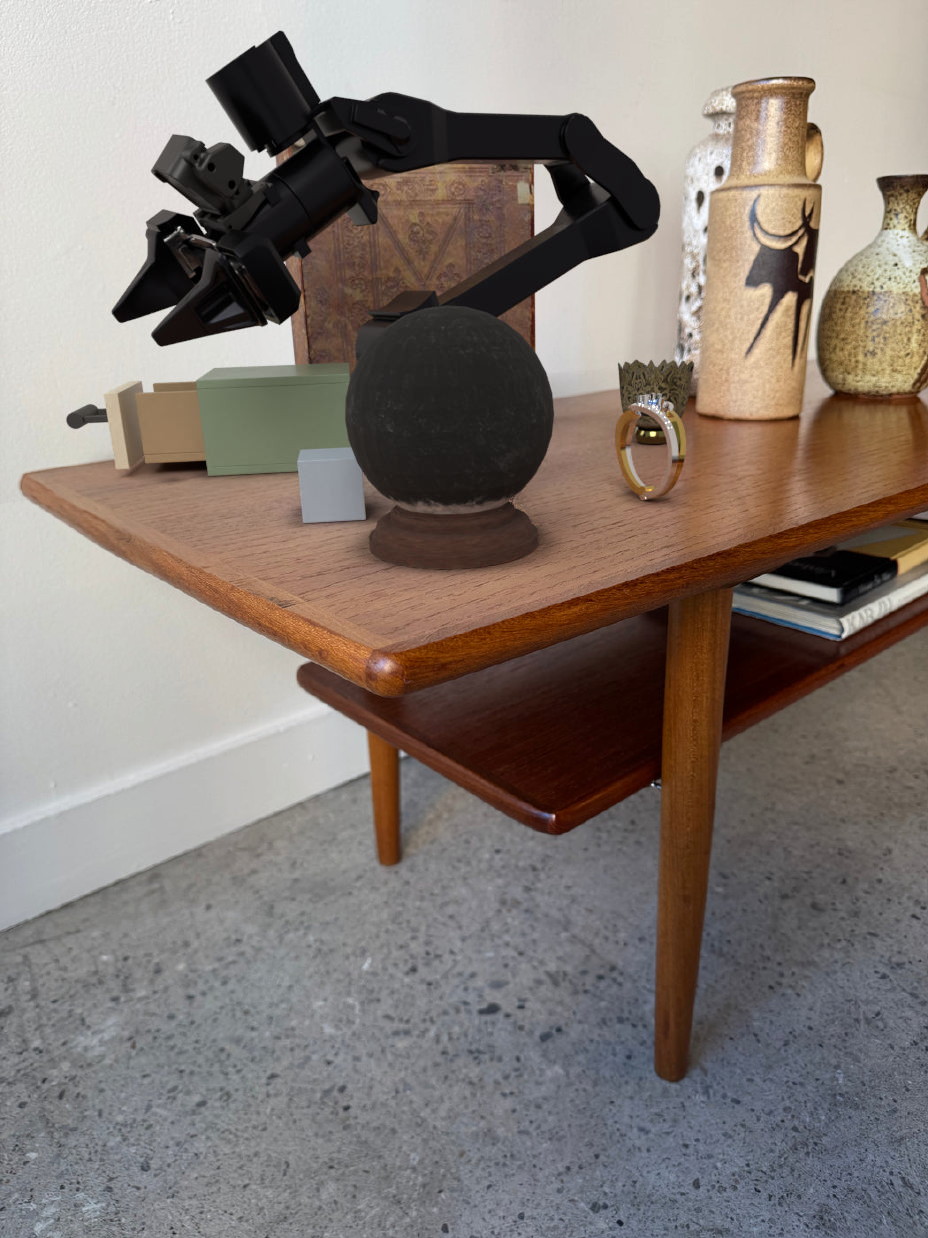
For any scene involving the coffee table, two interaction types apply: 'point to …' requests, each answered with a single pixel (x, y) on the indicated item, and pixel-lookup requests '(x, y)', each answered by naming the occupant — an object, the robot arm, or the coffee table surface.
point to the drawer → (149, 423)
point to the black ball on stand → (450, 436)
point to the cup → (654, 380)
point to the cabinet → (271, 415)
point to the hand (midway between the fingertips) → (134, 328)
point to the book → (409, 250)
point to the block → (330, 485)
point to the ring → (673, 437)
